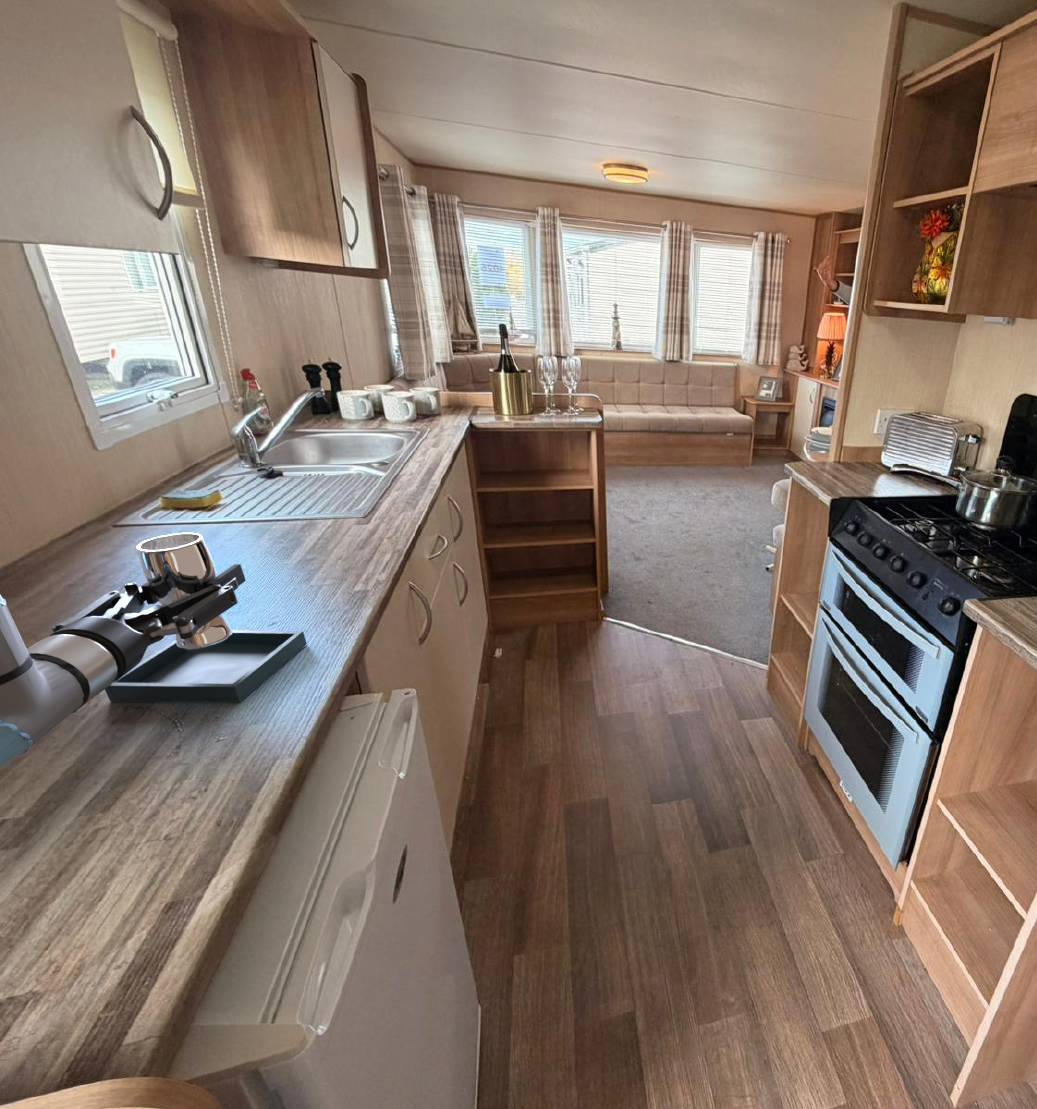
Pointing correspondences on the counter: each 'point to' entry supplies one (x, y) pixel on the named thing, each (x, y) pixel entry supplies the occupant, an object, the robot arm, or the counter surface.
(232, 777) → the counter surface
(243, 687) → the tray
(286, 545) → the counter surface
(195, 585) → the shiny silver metal cup
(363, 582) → the counter surface
